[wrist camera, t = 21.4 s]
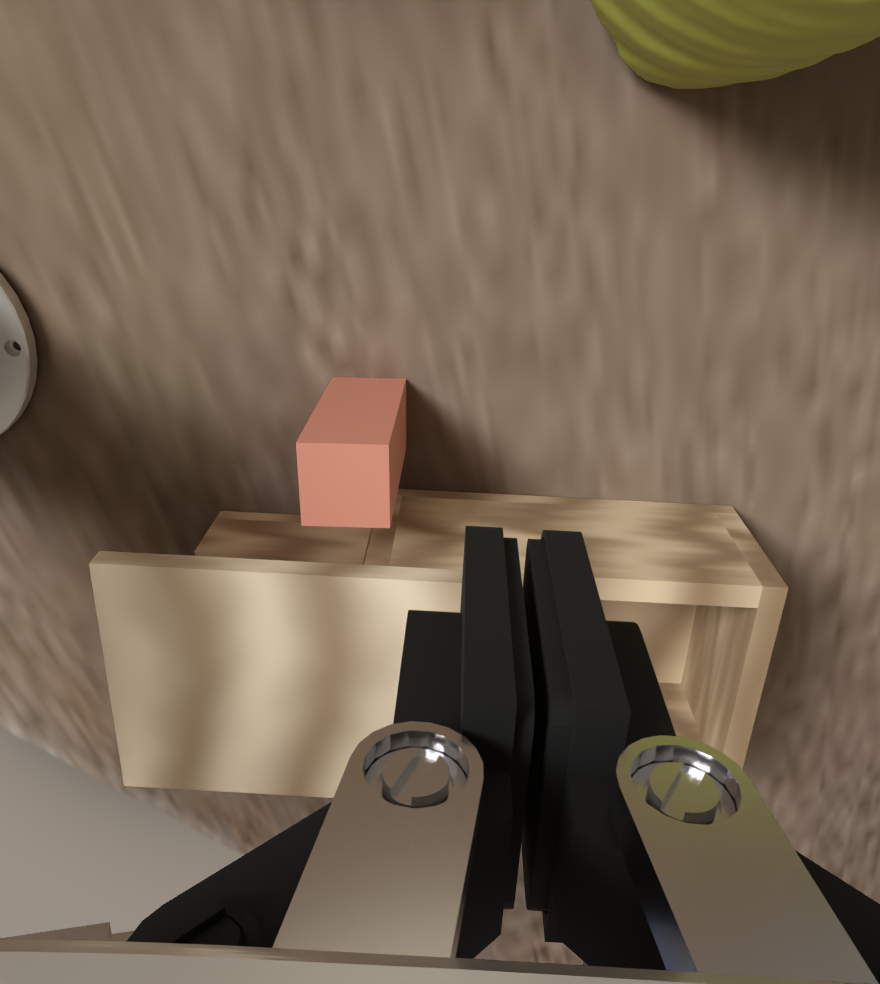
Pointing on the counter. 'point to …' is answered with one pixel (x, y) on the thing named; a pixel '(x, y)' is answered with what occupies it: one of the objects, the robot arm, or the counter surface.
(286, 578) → the lid
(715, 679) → the wooden box
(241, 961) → the robot arm
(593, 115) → the counter surface
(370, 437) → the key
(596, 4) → the lungs
